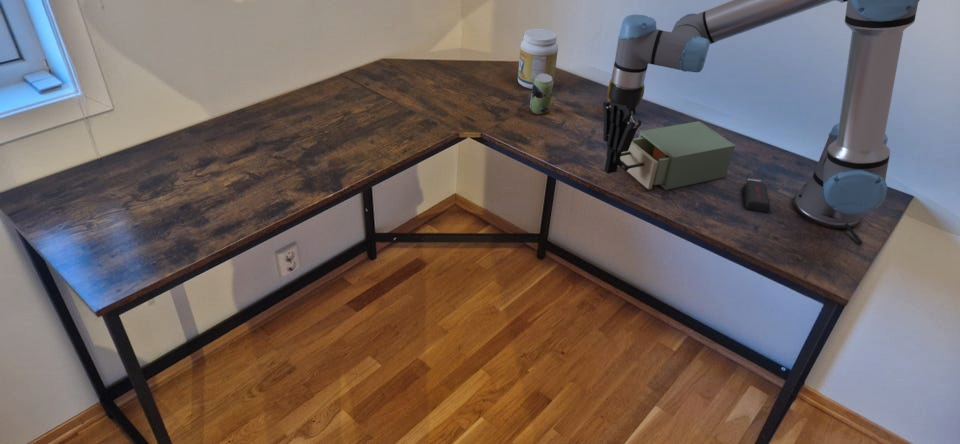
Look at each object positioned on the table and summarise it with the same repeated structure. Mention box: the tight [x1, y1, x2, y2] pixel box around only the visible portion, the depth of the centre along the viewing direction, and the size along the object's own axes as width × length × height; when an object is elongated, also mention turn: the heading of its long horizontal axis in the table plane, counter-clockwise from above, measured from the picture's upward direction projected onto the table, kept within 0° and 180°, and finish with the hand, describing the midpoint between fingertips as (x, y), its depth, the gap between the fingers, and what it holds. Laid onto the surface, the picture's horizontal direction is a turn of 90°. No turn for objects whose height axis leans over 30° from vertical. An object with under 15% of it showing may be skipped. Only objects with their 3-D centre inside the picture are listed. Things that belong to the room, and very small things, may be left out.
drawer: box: [618, 137, 671, 190], centre depth 170 cm, size 25×13×8 cm, turn 114°
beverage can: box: [529, 73, 554, 115], centre depth 197 cm, size 6×7×12 cm
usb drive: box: [742, 178, 771, 213], centre depth 165 cm, size 5×12×3 cm, turn 167°
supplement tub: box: [517, 28, 559, 90], centre depth 213 cm, size 12×12×17 cm
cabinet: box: [638, 120, 736, 191], centre depth 173 cm, size 20×15×10 cm
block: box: [652, 146, 669, 165], centre depth 171 cm, size 5×5×6 cm
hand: (610, 171), depth 165 cm, fingers closed
